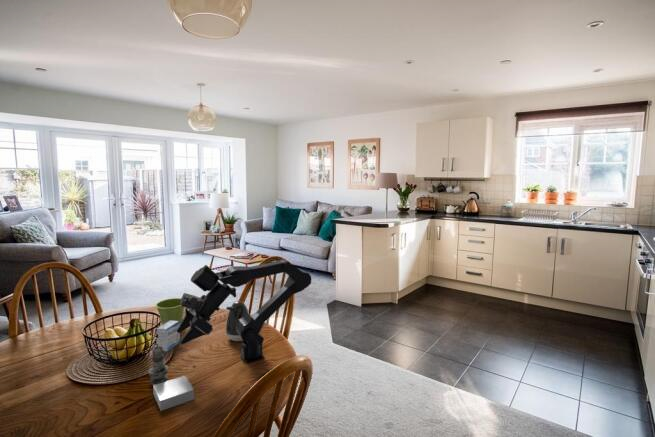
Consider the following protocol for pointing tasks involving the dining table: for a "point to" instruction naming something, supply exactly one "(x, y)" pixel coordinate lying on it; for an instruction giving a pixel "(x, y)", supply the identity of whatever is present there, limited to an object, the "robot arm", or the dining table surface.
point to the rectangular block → (173, 392)
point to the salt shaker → (158, 367)
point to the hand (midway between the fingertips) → (179, 337)
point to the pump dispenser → (235, 319)
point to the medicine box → (168, 335)
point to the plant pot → (170, 310)
